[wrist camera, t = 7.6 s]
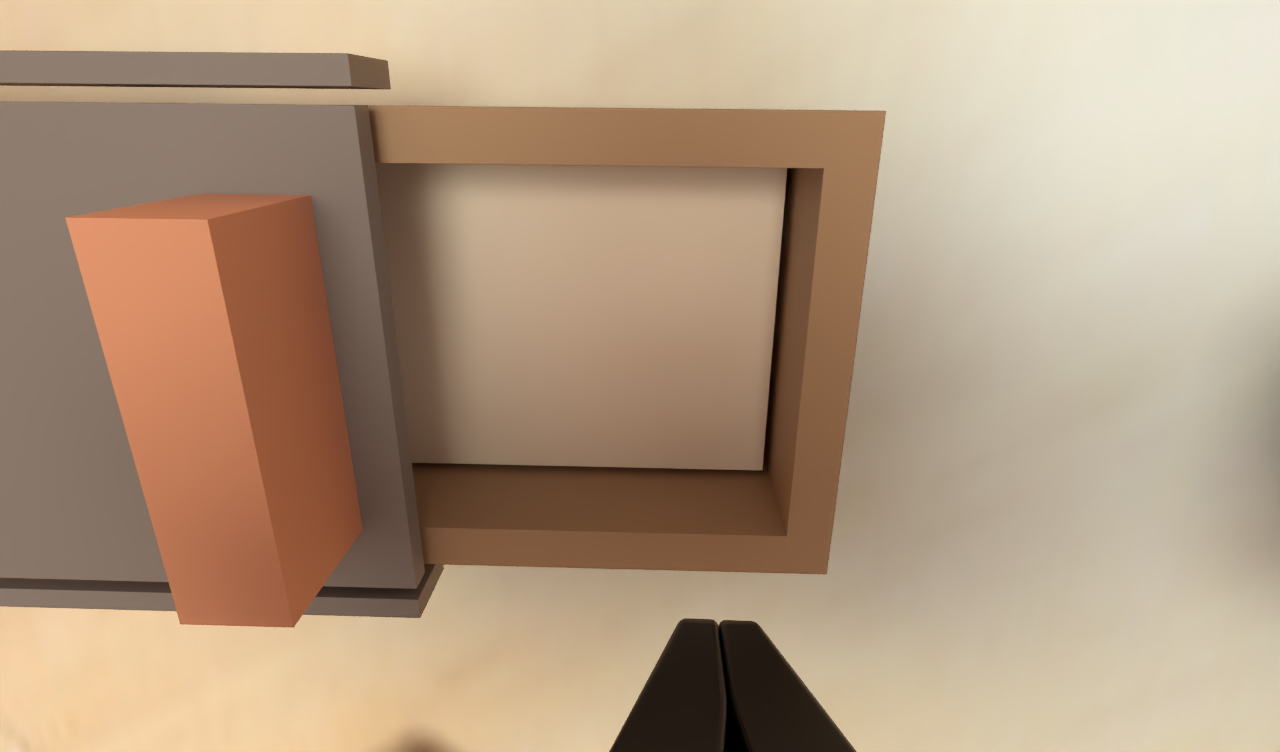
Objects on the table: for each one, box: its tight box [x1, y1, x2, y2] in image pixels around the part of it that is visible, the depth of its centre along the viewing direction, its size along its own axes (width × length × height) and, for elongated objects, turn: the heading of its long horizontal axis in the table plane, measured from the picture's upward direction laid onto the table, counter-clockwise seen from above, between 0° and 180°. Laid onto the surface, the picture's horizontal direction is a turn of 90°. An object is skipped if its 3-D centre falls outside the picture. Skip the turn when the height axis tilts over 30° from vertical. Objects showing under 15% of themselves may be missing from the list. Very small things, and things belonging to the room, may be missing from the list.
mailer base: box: [368, 106, 886, 574], centre depth 17 cm, size 15×10×5 cm, turn 89°
